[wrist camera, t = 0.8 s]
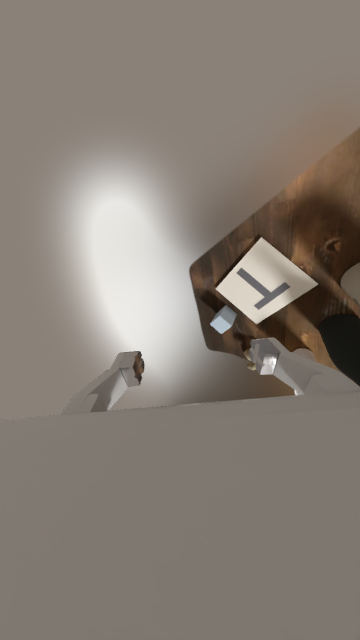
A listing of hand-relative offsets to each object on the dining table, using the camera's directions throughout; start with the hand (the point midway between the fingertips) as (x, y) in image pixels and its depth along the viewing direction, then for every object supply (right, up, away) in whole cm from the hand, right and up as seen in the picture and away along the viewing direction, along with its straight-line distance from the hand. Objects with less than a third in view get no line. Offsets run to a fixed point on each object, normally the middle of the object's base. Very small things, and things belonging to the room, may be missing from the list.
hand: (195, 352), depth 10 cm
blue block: (+16, +5, +41) cm, 44 cm away
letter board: (+22, +12, +31) cm, 40 cm away
